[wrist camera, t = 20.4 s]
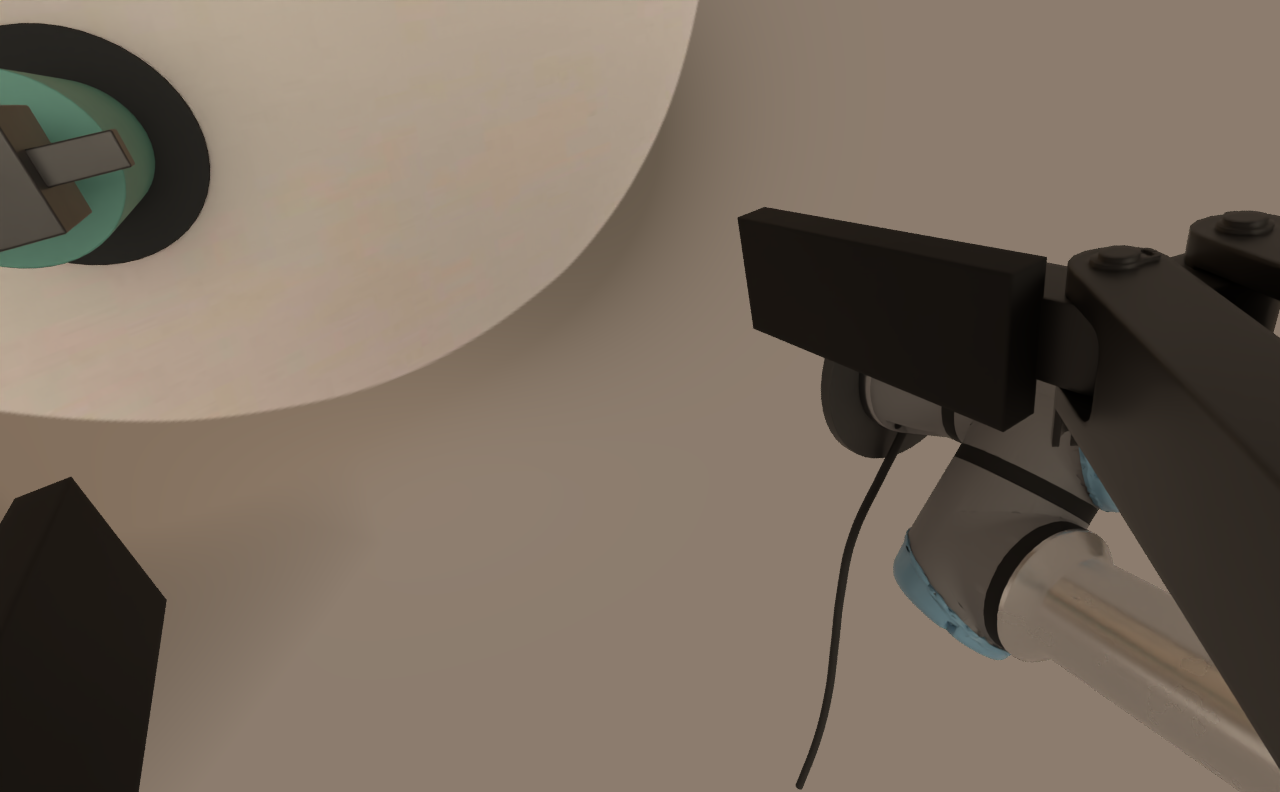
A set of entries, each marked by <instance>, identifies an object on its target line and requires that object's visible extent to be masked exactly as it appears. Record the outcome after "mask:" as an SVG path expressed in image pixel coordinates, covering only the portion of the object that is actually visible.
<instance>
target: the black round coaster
mask: <svg viewBox="0 0 1280 792" xmlns="http://www.w3.org/2000/svg"><path fill="white" fill-rule="evenodd" d="M0 69H6V70H12V71H18V72H24V73H30V74H36V75H42V76H48V77H54V78H60V79H66V80H71V81H76V82H80V83H83V84H86V85H89V86H91V87H94V88H96V89H98V90H100V91H102V92H104V93H106V94H108V95H110V96H111V97H112V98H114V99H115V100H117V101H118V102H120V103H121V104H122V105H123V106H124V107H126V108H127V109H128V110H129V111H130V112H131V113H132V114H133V115H134V116H135V117H136V119H137V120H138V121H139V122H140V124H141V125H142V127H143V128H144V130H145V131H146V133H147V135H148V137H149V139H150V142H151V144H152V148H153V151H154V157H155V173H154V178H153V181H152V184H151V186H150V188H149V190H148V192H147V193H146V194H145V196H144V197H143V198H142V199H141V201H140V202H139V203H138V204H137V205H136V206H135V208H134V209H133V210H132V211H131V212H130V213H129V214H128V216H127V217H126V218H125V219H124V220H123V221H122V223H121V224H120V225H119V226H118V227H117V228H116V230H115V231H114V232H113V233H112V234H111V235H110V236H109V238H108V239H106V240H105V241H104V242H103V243H102V244H101V245H100V246H99V247H97V248H96V249H94V250H93V251H92V252H90V253H88V254H86V255H84V256H82V257H81V258H79V259H76V260H73V261H70V262H68V263H73V264H84V265H110V264H119V263H125V262H130V261H134V260H138V259H141V258H144V257H147V256H150V255H152V254H155V253H157V252H158V251H160V250H162V249H164V248H166V247H168V246H169V245H171V244H172V243H173V242H175V241H176V240H178V239H179V238H180V237H181V236H182V235H183V234H184V233H185V232H186V231H187V230H188V229H189V228H190V227H191V225H192V224H193V223H194V221H195V220H196V219H197V217H198V215H199V213H200V211H201V209H202V208H203V205H204V202H205V199H206V196H207V193H208V187H209V181H210V163H209V155H208V150H207V146H206V142H205V139H204V136H203V133H202V131H201V129H200V126H199V124H198V122H197V120H196V118H195V117H194V115H193V113H192V111H191V110H190V108H189V106H188V105H187V104H186V102H185V101H184V100H183V98H182V97H181V96H180V94H179V93H178V92H177V91H176V90H175V89H174V88H173V87H172V85H171V84H170V83H169V82H168V81H167V80H166V79H165V78H164V77H162V76H161V75H160V74H159V73H158V72H157V71H156V70H155V69H153V68H152V67H151V66H149V65H148V64H147V63H145V62H144V61H142V60H141V59H140V58H138V57H137V56H135V55H133V54H132V53H130V52H128V51H127V50H125V49H123V48H121V47H120V46H118V45H116V44H113V43H111V42H109V41H107V40H105V39H103V38H100V37H97V36H95V35H92V34H89V33H86V32H83V31H80V30H75V29H71V28H67V27H63V26H56V25H48V24H39V23H18V24H9V25H1V26H0Z"/></svg>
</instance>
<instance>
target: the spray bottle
mask: <svg viewBox="0 0 1280 792" xmlns="http://www.w3.org/2000/svg"><path fill="white" fill-rule="evenodd" d="M154 173H155V157H154V151H153V148H152V144H151V142H150V139H149V137H148V135H147V133H146V131H145V130H144V128H143V127H142V125H141V124H140V122H139V121H138V120H137V119H136V117H135V116H134V115H133V114H132V113H131V112H130V111H129V110H128V109H127V108H126V107H124V106H123V105H122V104H121V103H120V102H118V101H117V100H115V99H114V98H112V97H111V96H110V95H108V94H106V93H104V92H102V91H100V90H98V89H96V88H94V87H91V86H89V85H86V84H83V83H80V82H76V81H71V80H66V79H60V78H54V77H48V76H42V75H36V74H30V73H24V72H18V71H12V70H6V69H0V266H2V267H10V268H43V267H51V266H56V265H60V264H64V263H68V262H70V261H73V260H76V259H79V258H81V257H82V256H84V255H86V254H88V253H90V252H92V251H93V250H94V249H96V248H97V247H99V246H100V245H101V244H102V243H103V242H104V241H105V240H106V239H108V238H109V236H110V235H111V234H112V233H113V232H114V231H115V230H116V228H117V227H118V226H119V225H120V224H121V223H122V221H123V220H124V219H125V218H126V217H127V216H128V214H129V213H130V212H131V211H132V210H133V209H134V208H135V206H136V205H137V204H138V203H139V202H140V201H141V199H142V198H143V197H144V196H145V194H146V193H147V192H148V190H149V188H150V186H151V184H152V181H153V178H154Z"/></svg>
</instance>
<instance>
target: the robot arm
mask: <svg viewBox="0 0 1280 792" xmlns="http://www.w3.org/2000/svg"><path fill="white" fill-rule="evenodd" d="M738 224H739V231H740V238H741V244H742V252H743V259H744V266H745V273H746V279H747V286H748V293H749V300H750V307H751V314H752V320H753V328H754V329H756V330H759V331H761V332H763V333H766V334H768V335H771V336H773V337H776V338H778V339H780V340H783V341H785V342H787V343H790V344H793V345H795V346H797V347H799V348H802V349H804V350H807V351H809V352H812V353H814V354H816V355H819V356H821V357H824V358H826V359H828V360H831V361H833V362H835V363H838V364H840V365H843V366H845V367H848V368H850V369H852V370H855V371H857V372H860V373H859V395H860V400H861V404H862V407H863V409H864V411H865V413H866V414H867V415H868V417H869V418H870V419H871V420H872V421H874V422H875V423H877V424H879V425H881V426H883V427H885V428H887V429H890V430H893V431H897V432H898V433H897V435H896V437H895V439H894V441H893V443H892V445H891V448H890V450H889V452H888V454H887V456H886V457H885V459H884V462H883V463H882V465H881V467H880V469H879V471H878V473H877V475H876V477H875V480H874V482H873V484H872V485H871V487H870V489H869V491H868V493H867V495H866V497H865V499H864V501H863V503H862V505H861V507H860V509H859V511H858V513H857V516H856V518H855V520H854V523H853V525H852V528H851V531H850V533H849V536H848V539H847V542H846V546H845V549H844V553H843V557H842V563H841V568H840V574H839V580H838V587H837V593H836V600H835V607H834V617H833V628H832V638H831V647H830V656H829V666H828V675H827V682H826V689H825V694H824V699H823V704H822V709H821V713H820V718H819V721H818V725H817V729H816V732H815V735H814V739H813V742H812V745H811V748H810V750H809V753H808V755H807V758H806V761H805V763H804V766H803V768H802V770H801V773H800V776H799V778H798V781H797V783H796V787H797V788H798V789H802V788H803V786H804V783H805V781H806V778H807V776H808V773H809V771H810V768H811V766H812V763H813V761H814V758H815V756H816V753H817V750H818V747H819V745H820V741H821V738H822V735H823V732H824V728H825V724H826V721H827V717H828V713H829V708H830V703H831V698H832V693H833V687H834V681H835V673H836V665H837V655H838V647H839V638H840V629H841V618H842V609H843V602H844V596H845V590H846V584H847V577H848V571H849V566H850V561H851V557H852V553H853V549H854V546H855V542H856V539H857V537H858V534H859V531H860V529H861V526H862V524H863V521H864V519H865V517H866V515H867V512H868V510H869V508H870V506H871V504H872V502H873V500H874V499H875V497H876V495H877V493H878V491H879V489H880V487H881V485H882V483H883V481H884V479H885V477H886V475H887V473H888V471H889V469H890V467H891V465H892V463H893V461H894V460H895V458H896V456H897V454H898V452H899V450H900V448H901V446H902V444H903V442H904V439H905V437H906V435H907V433H912V434H921V435H931V436H942V437H948V438H951V439H954V440H955V441H958V442H960V443H962V444H961V445H960V447H959V449H958V451H957V452H956V454H955V456H954V457H953V459H952V460H951V462H950V464H949V465H948V467H947V469H946V470H945V472H944V474H943V475H942V477H941V479H940V480H939V482H938V484H937V485H936V487H935V489H934V491H933V492H932V494H931V495H930V497H929V499H928V500H927V502H926V504H925V505H924V507H923V509H922V510H921V512H920V514H919V515H918V517H917V519H916V520H915V522H914V524H913V525H912V527H911V528H909V529H908V531H907V532H906V535H905V540H904V543H903V545H902V547H901V548H900V550H899V553H898V554H897V556H896V558H895V560H894V566H893V568H894V569H893V570H894V571H893V572H894V576H895V579H896V581H897V583H898V585H899V586H900V588H901V590H902V591H903V592H904V594H905V595H906V596H907V597H908V598H909V599H910V600H911V601H912V603H913V604H914V605H916V607H917V608H919V609H920V610H921V611H922V612H923V613H924V614H925V615H926V616H927V617H928V618H930V619H931V620H932V621H933V622H934V623H936V624H937V625H939V626H940V627H942V628H944V629H946V630H947V631H948V632H949V633H950V634H951V635H952V636H953V637H954V638H956V639H957V640H958V641H960V642H961V643H963V644H964V645H966V646H967V647H969V648H971V649H973V650H974V651H976V652H978V653H979V654H982V655H984V656H986V657H988V658H991V659H995V660H1003V659H1005V658H1007V657H1008V656H1010V655H1012V656H1014V657H1015V658H1017V659H1019V660H1022V661H1025V662H1040V661H1045V660H1053V661H1054V662H1056V663H1057V664H1058V665H1060V666H1061V667H1063V668H1064V669H1065V670H1067V671H1068V672H1070V673H1071V674H1073V675H1074V676H1075V677H1077V678H1078V679H1080V680H1081V681H1083V682H1084V683H1086V684H1087V685H1088V686H1090V687H1091V688H1093V689H1094V690H1095V691H1097V692H1098V693H1100V694H1101V695H1103V696H1104V697H1106V698H1107V699H1108V700H1110V701H1111V702H1113V703H1114V704H1115V705H1117V706H1118V707H1120V708H1121V709H1123V710H1124V711H1125V712H1127V713H1128V714H1130V715H1131V716H1133V717H1134V718H1136V719H1137V720H1139V721H1140V722H1141V723H1143V724H1144V725H1146V726H1147V727H1148V728H1150V729H1151V730H1153V731H1154V732H1156V733H1157V734H1158V735H1160V736H1161V737H1163V738H1164V739H1165V740H1167V741H1169V742H1170V743H1171V744H1173V745H1174V746H1175V747H1177V748H1179V749H1180V750H1181V751H1183V752H1184V753H1185V754H1187V755H1188V756H1190V757H1191V758H1193V759H1194V760H1195V761H1197V762H1198V763H1200V764H1201V765H1203V766H1204V767H1205V768H1207V769H1208V770H1210V771H1211V772H1213V773H1214V774H1215V775H1217V776H1218V777H1220V778H1221V779H1223V780H1224V781H1225V782H1227V783H1228V784H1230V785H1231V786H1233V787H1234V788H1235V789H1237V790H1238V791H1240V792H1280V338H1279V337H1278V336H1276V335H1275V334H1274V333H1273V332H1274V328H1275V325H1276V321H1277V317H1278V313H1279V310H1280V216H1277V215H1271V214H1267V213H1263V212H1257V211H1233V212H1226V213H1225V214H1223V215H1217V216H1210V217H1207V218H1204V219H1201V220H1197V221H1196V222H1195V223H1193V224H1192V225H1191V226H1190V230H1189V235H1188V240H1187V246H1186V252H1185V254H1181V255H1177V256H1174V257H1169V256H1167V255H1164V254H1162V253H1160V252H1158V251H1156V250H1154V249H1151V248H1139V247H1132V246H1125V245H1124V246H1110V247H1105V248H1098V249H1093V250H1088V251H1084V252H1082V253H1079V254H1077V255H1074V256H1073V257H1072V258H1071V259H1070V260H1069V261H1068V266H1062V265H1057V264H1052V263H1046V262H1047V261H1046V260H1047V257H1043V256H1038V255H1032V254H1027V253H1021V252H1015V251H1010V250H1004V249H998V248H993V247H987V246H982V245H976V244H970V243H965V242H959V241H953V240H948V239H942V238H936V237H931V236H925V235H919V234H914V233H908V232H902V231H897V230H891V229H886V228H879V227H874V226H869V225H862V224H857V223H852V222H846V221H840V220H835V219H829V218H823V217H818V216H812V215H807V214H801V213H794V212H790V211H784V210H778V209H773V208H767V207H763V208H761V209H758V210H756V211H753V212H751V213H748V214H745V215H743V216H740V217H738ZM1099 509H1101V510H1103V511H1106V512H1120V513H1121V515H1122V516H1123V518H1124V520H1125V521H1126V523H1127V525H1128V526H1129V528H1130V529H1131V531H1132V533H1133V534H1134V536H1135V537H1136V539H1137V541H1138V542H1139V544H1140V545H1141V547H1142V549H1143V550H1144V552H1145V554H1146V555H1147V557H1148V558H1149V560H1150V561H1151V563H1152V565H1153V567H1154V568H1155V570H1156V571H1157V573H1158V575H1159V576H1160V578H1161V579H1162V581H1163V583H1164V584H1165V586H1166V587H1167V589H1168V591H1169V592H1170V593H1168V592H1166V591H1164V590H1162V589H1160V588H1158V587H1156V586H1154V585H1152V584H1150V583H1148V582H1146V581H1145V580H1142V579H1140V578H1139V577H1137V576H1135V575H1133V574H1131V573H1128V572H1127V571H1125V570H1123V569H1121V568H1119V567H1117V566H1115V565H1114V564H1113V560H1112V556H1111V552H1110V550H1109V547H1108V545H1107V544H1106V543H1105V541H1104V540H1103V539H1102V538H1101V537H1099V536H1098V535H1097V534H1095V533H1093V532H1091V531H1089V530H1087V528H1088V526H1089V525H1090V522H1091V521H1092V519H1093V517H1094V516H1095V514H1096V513H1097V511H1098V510H1099ZM165 608H166V599H165V597H164V596H163V595H162V594H161V592H160V591H159V589H158V588H157V587H156V586H155V584H154V583H153V582H152V580H151V579H150V578H149V577H148V575H147V574H146V573H145V571H144V570H143V569H142V568H141V566H140V565H139V564H138V562H137V561H136V560H135V558H134V557H133V556H132V555H131V554H130V552H129V551H128V550H127V548H126V547H125V546H124V544H123V543H122V542H121V540H120V539H119V538H118V537H117V535H116V534H115V533H114V532H113V530H112V529H111V527H110V526H109V525H108V524H107V522H106V521H105V520H104V518H103V517H102V516H101V515H100V513H99V512H98V511H97V509H96V508H95V507H94V505H93V504H92V503H91V502H90V500H89V499H88V498H87V497H86V495H85V494H84V493H83V491H82V490H81V489H80V487H79V486H78V485H77V483H76V482H75V481H74V480H73V478H72V477H69V478H67V479H64V480H61V481H59V482H56V483H54V484H51V485H48V486H46V487H43V488H41V489H38V490H36V491H33V492H30V493H28V494H26V495H23V496H21V497H18V498H15V499H14V501H13V503H12V504H11V506H10V508H9V509H8V511H7V513H6V515H5V516H4V518H3V520H2V522H1V523H0V792H139V785H140V778H141V771H142V764H143V757H144V751H145V744H146V737H147V731H148V724H149V717H150V710H151V703H152V696H153V690H154V683H155V676H156V669H157V662H158V655H159V649H160V642H161V635H162V628H163V621H164V614H165Z"/></svg>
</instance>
